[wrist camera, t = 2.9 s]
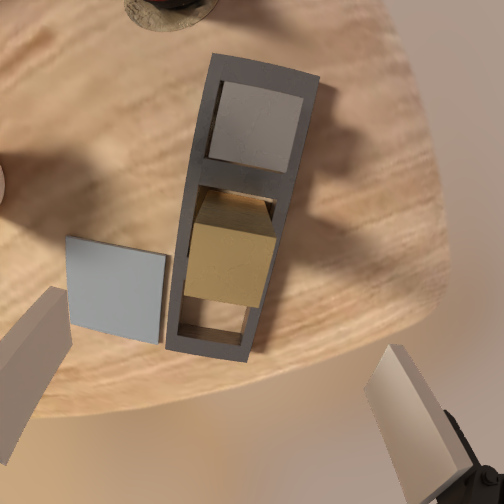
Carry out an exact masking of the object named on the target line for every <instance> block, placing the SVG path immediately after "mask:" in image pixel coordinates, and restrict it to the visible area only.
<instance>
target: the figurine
mask: <svg viewBox="0 0 504 504" xmlns="http://www.w3.org/2000/svg"><path fill="white" fill-rule="evenodd" d="M217 2H218V0H124V5H125V6H124V7H125V11H126V12H127V14H128V16H129V17H130V19H131V20H132V21H133V22H134V23H136V24H137V25H139V26H140V27H142V28H145V29H148V30H151V31H158V32H168V31H175V30H180V29H183V28H184V27H185V28H186V27H188V26H190V25H193V24H195V23H196V22H198V21H200V20H201V19H202V18H204V17H205V16H206V15H207V14H208V13H209V12H210V11H211V10H212V9H213V8H214V6H215V5H216V4H217ZM150 23H151V24H150ZM179 23H180V25H178V24H179ZM187 24H188V26H187ZM182 25H184V26H182Z"/></svg>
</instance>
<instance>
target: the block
mask: <svg viewBox="0 0 504 504" xmlns="http://www.w3.org/2000/svg"><path fill="white" fill-rule="evenodd" d="M303 99H304V98H300V97H296V96H293V95H289V94H285V93H280V92H276V91H272V90H267V89H263V88H258V87H253V86H248V85H243V84H238V83H233V82H227V81H225V82H224V86H223V91H222V95H221V99H220V104H219V109H218V113H217V118H216V122H215V127H214V132H213V137H212V142H211V147H210V152H209V157H210V158H216V159H221V160H227V161H232V162H237V163H242V164H247V165H252V166H257V167H262V168H266V169H271V170H275V171H280V172H284V173H286V171H287V167H288V162H289V158H290V154H291V150H292V146H293V141H294V137H295V133H296V129H297V124H298V120H299V116H300V112H301V107H302V103H303Z"/></svg>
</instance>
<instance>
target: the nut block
mask: <svg viewBox="0 0 504 504" xmlns="http://www.w3.org/2000/svg"><path fill="white" fill-rule="evenodd" d="M276 239H277V237H276V234H275V231H274V229H273V226H272V223H271V220H270V217H269V214H268V211H267V208H266V205H265V202H264V200H259V199H254V198H249V197H244V196H238V195H233V194H228V193H223V192H217V191H212V190H208V192H207V194H206V197H205V199H204V201H203V204H202V206H201V208H200V211H199V213H198V215H197V218H196V220H195V222H194V228H193V234H192V240H191V247H190V254H189V260H188V267H187V275H186V282H185V289H184V295H185V296H190V297H196V298H201V299H207V300H213V301H219V302H224V303H230V304H236V305H243V306H249V307H255V308H259V304H260V301H261V297H262V293H263V289H264V286H265V282H266V278H267V274H268V270H269V267H270V263H271V259H272V255H273V251H274V247H275V243H276Z"/></svg>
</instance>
